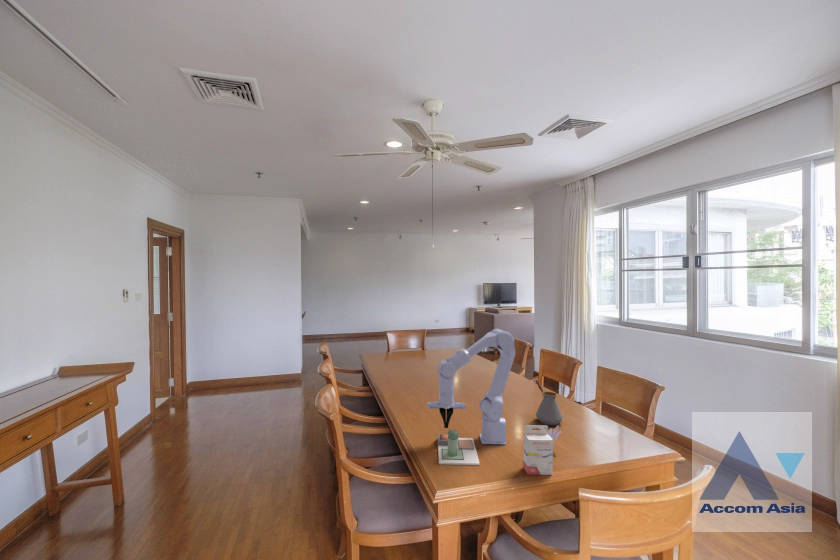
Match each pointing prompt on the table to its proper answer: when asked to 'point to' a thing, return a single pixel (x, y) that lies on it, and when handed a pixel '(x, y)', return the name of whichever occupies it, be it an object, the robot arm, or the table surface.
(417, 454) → the table surface
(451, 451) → the green rounded cylinder
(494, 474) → the table surface
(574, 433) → the table surface
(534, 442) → the ink cartridge box
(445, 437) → the button
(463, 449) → the picture board
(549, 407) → the coffee pot
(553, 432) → the water lily
